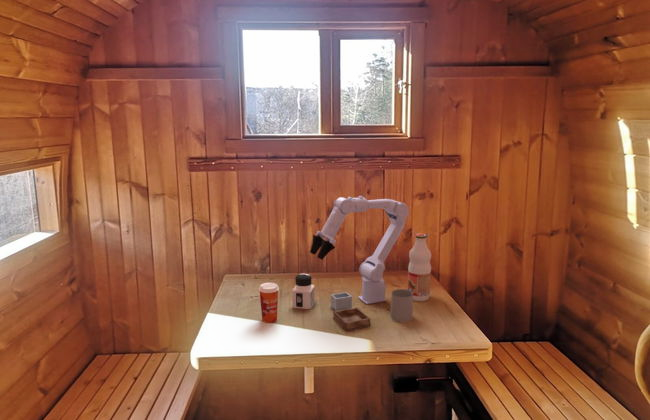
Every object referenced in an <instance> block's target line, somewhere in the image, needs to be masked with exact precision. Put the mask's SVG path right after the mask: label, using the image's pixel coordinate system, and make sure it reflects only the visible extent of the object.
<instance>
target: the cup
mask: <svg viewBox="0 0 650 420" xmlns="http://www.w3.org/2000/svg"><path fill="white" fill-rule="evenodd" d="M390 298H391V300H390V301H391V302H390V304H391V305H390V318H391V319H392V320H394V321H396V322H400V323H405V322H406V323H407V322H411V320H413V309H414V307H413V306H414V305H413V304H414V300H413V292H411V291H409V290H408V289H405V288H404V289H403V288H399V289H398V288H397V289H393V290H392V291H391V296H390Z"/></svg>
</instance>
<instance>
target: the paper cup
mask: <svg viewBox="0 0 650 420" xmlns="http://www.w3.org/2000/svg"><path fill="white" fill-rule="evenodd" d="M279 290H280V287H279V285H278V284H277V283H275V282H263V283H262V284H260V285H259V288H258V291H259V299H260V300H259V301H260V309H261V310H260V311H261V320H262V321H263V323H267V324H272V323H276V322H277V320H278V307H279V306H278V302H279Z"/></svg>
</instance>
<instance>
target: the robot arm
mask: <svg viewBox="0 0 650 420" xmlns="http://www.w3.org/2000/svg"><path fill="white" fill-rule="evenodd" d="M368 209H382V210H384V212H385V214H386V215H387V218H388V219H389V223H390V225H388V228H387V230H386V232H385V233H384V235H383V237H382V238H381V240H380V241H379V243H378V245H377V246H376V249H375V250H374V252H373V253H372V255H371V256H370V255H369V257H367V258H366V259H365V260H364V262H362V263H361V264H360V266H359V268H358V269H359V274H360V275H361V279H362V281H361V282H362V284H361V286H362V287H361V295H358V299H359V300H361V301H362V302H363V303H364V304H366V305H369V304H375V303H381V302H386V301H387V298H386V287H387V285H386V281H385V280H384V278H383V277H384V276H383V275H384V271H385V269H386V267H385V261H386V259H387V257H388V256H389V254H390V252H391V250H392V249H393V247H394V245H395V244H396V242H397V240H398V238H399V237H400V235H401V233H402V231H403V229H405V225H406V220H407V218H408V216H409V214H410V211H409V207H408V204H406V203H404V202H401V201H397V200H395V199H392V198H379V199H369V200H368V199H367V198H366V197H363V196H362V195H358V196H357V197H352V196H347V198H345V197H343V196H342V197H341V196H339V197H338V198H337V199H336V200H334V201H333V208H332V210H331V212H330V215H329V216H328V217H327V220H326V222H325V224H324V225H323V227H322V229H321V231H320V230H317V232H316V234H313V235H312V241H311V242H312V243H311V247H310V251H309V253H310V254H311V255H316V254H317V256H316V257H317V259H320V260H322V261H323V260H324V258H325V257H326V256H327V255H329V253H330V252H331V251H333V250H334V249H335V248H336V246H335V244H336V243H337V240H336V239H335V237H336V235H337V233H338V232H339V229H341V226H342V224H343V222H344V221H345V220H346V217H347V216H348V215H350V214H351V213H361V212H366V211H367V210H368Z"/></svg>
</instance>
